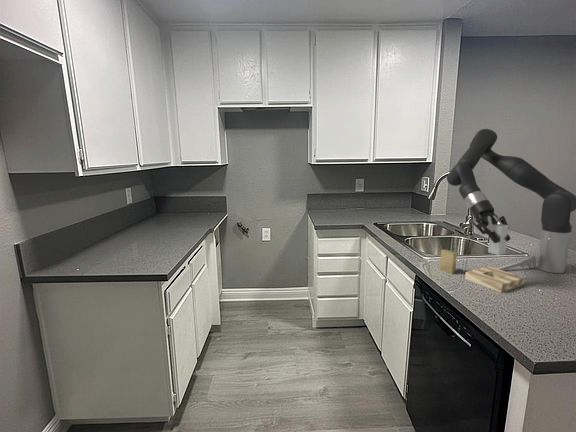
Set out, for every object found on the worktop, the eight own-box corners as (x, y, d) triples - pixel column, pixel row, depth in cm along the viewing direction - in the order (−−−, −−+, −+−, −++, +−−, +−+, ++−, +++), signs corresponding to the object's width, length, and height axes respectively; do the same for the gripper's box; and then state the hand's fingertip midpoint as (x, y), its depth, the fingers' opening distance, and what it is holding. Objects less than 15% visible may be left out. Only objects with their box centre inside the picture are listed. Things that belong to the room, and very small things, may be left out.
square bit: (494, 250, 121) (497, 223, 119) (505, 253, 117) (508, 225, 115) (487, 252, 119) (490, 224, 117) (498, 255, 116) (501, 226, 114)
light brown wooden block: (442, 268, 135) (444, 249, 134) (455, 273, 130) (456, 253, 128) (439, 269, 135) (441, 249, 133) (451, 274, 129) (453, 253, 127)
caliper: (532, 267, 134) (534, 254, 133) (535, 268, 133) (537, 255, 132) (491, 272, 131) (493, 258, 130) (493, 273, 130) (495, 258, 129)
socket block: (487, 272, 129) (488, 266, 129) (524, 284, 117) (525, 277, 116) (465, 279, 124) (465, 272, 123) (501, 292, 111) (501, 284, 111)
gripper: (486, 208, 129) (510, 244, 120) (458, 211, 126) (480, 248, 117) (499, 198, 123) (525, 234, 114) (470, 200, 120) (494, 238, 111)
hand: (502, 241), depth 115 cm, fingers closed on square bit, 4 cm apart
